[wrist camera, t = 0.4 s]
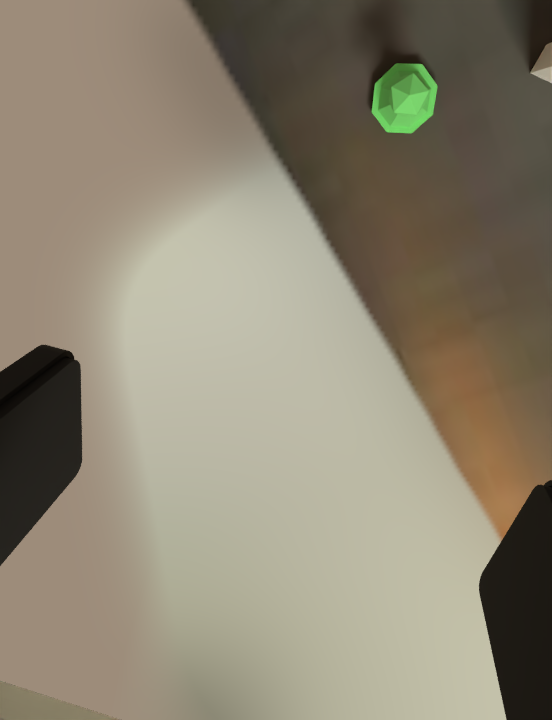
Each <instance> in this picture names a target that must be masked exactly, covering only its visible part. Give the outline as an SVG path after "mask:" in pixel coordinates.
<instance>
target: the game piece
mask: <svg viewBox="0 0 552 720" xmlns="http://www.w3.org/2000/svg"><path fill="white" fill-rule="evenodd" d="M436 92H437V84H436V83H435V82H434V80H433V79H432V77H431V76H430V74H429V73H428V72H427V70H426V69H425V67H424V66H423V64H400V63H396V64H395V65H394V66H393V67H392V68H391V69H390V70H389V71H388V72H387V73H386V74H384V75H383V76H382V77H381V78H380V79H379V80H378V81H377V82H376V83H375V88H374V97H373V105H372V113H373V114H374V116H375V117H376V118H377V120H378V121H379V122H380V124H381V125H382V126H383V128H384V129H385V130H386V132H395V133H412V132H414V131H415V130H416V129H417V128H418V127H419V126H420V125H422V124H423V123H424V122H425V121H426V120H427V119H428V118H429V117H431V116H432V115H433V110H434V104H435V98H436Z"/></svg>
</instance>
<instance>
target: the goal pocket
mask: <svg viewBox="0 0 552 720" xmlns="http://www.w3.org/2000/svg"><path fill="white" fill-rule="evenodd" d="M530 73H531V74H533V75H535V76H537V77H539V78H542V79H544V80H546V81H548V82H550V83H552V42H551V43H549V44H547V45H546V46H545V48H544V50H543V51H542V53H541V55H540V56H539V58H538V60H537V62H536V63H535V65H534V67H533V68H532V70H531V72H530Z"/></svg>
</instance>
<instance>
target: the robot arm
mask: <svg viewBox="0 0 552 720" xmlns="http://www.w3.org/2000/svg"><path fill="white" fill-rule="evenodd" d="M81 463H82V425H81V370H80V364H79V362H78V361H77V360H74V356H73V354H72V353H71V352H70V351H66V350H62V349H59V348H55V347H51V346H47V345H40V346H38V347H36V348H35V349H34V350H32V351H31V352H29V353H28V354H26V355H25V356H23V357H22V358H20V359H19V360H17V361H16V362H14V363H13V364H11V365H10V366H9V367H7V368H5V369H4V370H2V371H1V372H0V566H1V564H2V563H3V562H4V561H5V560H6V559H7V557H8V556H9V555H10V554H11V552H12V551H13V550H14V549H15V548H16V547H17V545H18V544H19V543H20V542H21V541H22V539H23V538H24V537H25V536H26V535H27V534H28V532H29V531H30V530H31V529H32V528H33V526H34V525H35V524H36V523H37V522H38V520H39V519H40V518H41V517H42V516H43V514H44V513H45V512H46V511H47V510H48V508H49V507H50V506H51V505H52V504H53V502H54V501H55V500H56V499H57V498H58V496H59V495H60V494H61V493H62V492H63V491H64V489H65V488H66V487H67V486H68V485H69V483H70V482H71V481H72V480H73V479H74V477H75V476H76V475H77V473H78V471H79V469H80V467H81ZM479 592H480V598H481V602H482V607H483V612H484V616H485V621H486V626H487V630H488V635H489V639H490V644H491V649H492V654H493V658H494V663H495V667H496V672H497V677H498V681H499V686H500V691H501V695H502V700H503V704H504V709H505V714H506V719H507V720H552V480H550V481H548V482H547V483H545V485H537V486H536V487H535V488H534V489H533V491H532V492H531V494H530V495H529V497H528V499H527V500H526V502H525V504H524V505H523V507H522V509H521V510H520V512H519V513H518V515H517V517H516V518H515V520H514V522H513V523H512V525H511V527H510V528H509V530H508V532H507V533H506V535H505V536H504V538H503V540H502V541H501V543H500V545H499V546H498V548H497V550H496V551H495V553H494V554H493V556H492V558H491V560H490V561H489V563H488V564H487V566H486V568H485V569H484V571H483V573H482V575H481V578H480V583H479ZM0 720H120V719H117V718H113V717H110V716H108V715H104V714H101V713H98V712H95V711H92V710H89V709H86V708H83V707H80V706H77V705H73V704H70V703H67V702H64V701H61V700H58V699H55V698H52V697H49V696H45V695H42V694H39V693H36V692H33V691H30V690H27V689H24V688H21V687H18V686H15V685H12V684H8V683H5V682H2V681H0Z"/></svg>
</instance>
